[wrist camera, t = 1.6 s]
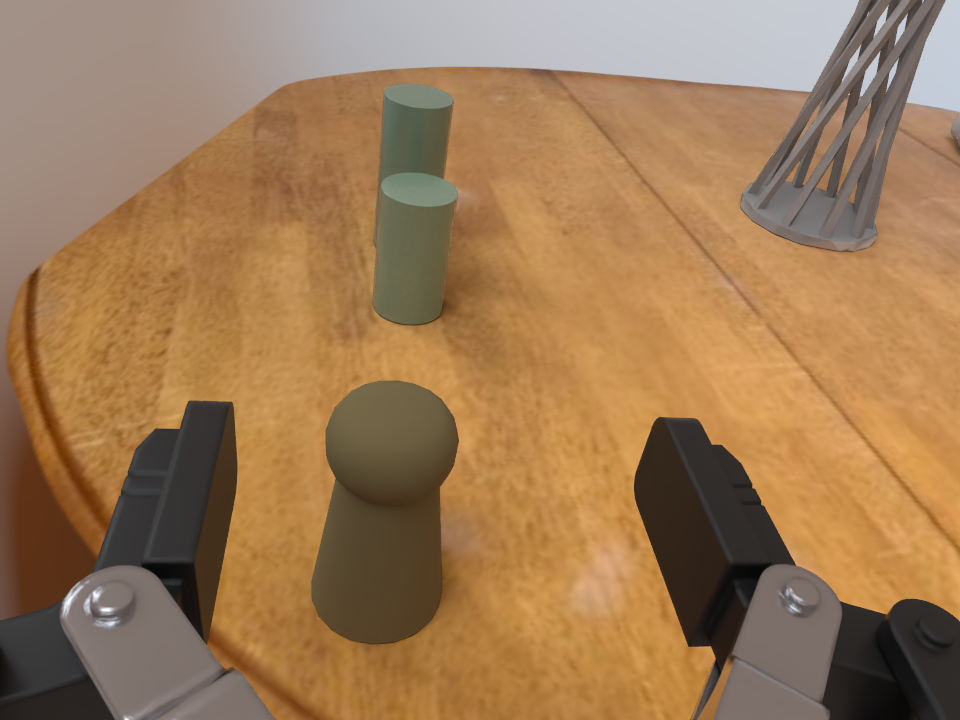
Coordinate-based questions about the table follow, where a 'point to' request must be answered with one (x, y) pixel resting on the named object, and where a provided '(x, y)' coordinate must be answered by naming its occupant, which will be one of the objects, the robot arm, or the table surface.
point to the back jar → (413, 133)
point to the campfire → (956, 129)
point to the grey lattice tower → (844, 133)
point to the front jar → (413, 247)
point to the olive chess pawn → (384, 512)
